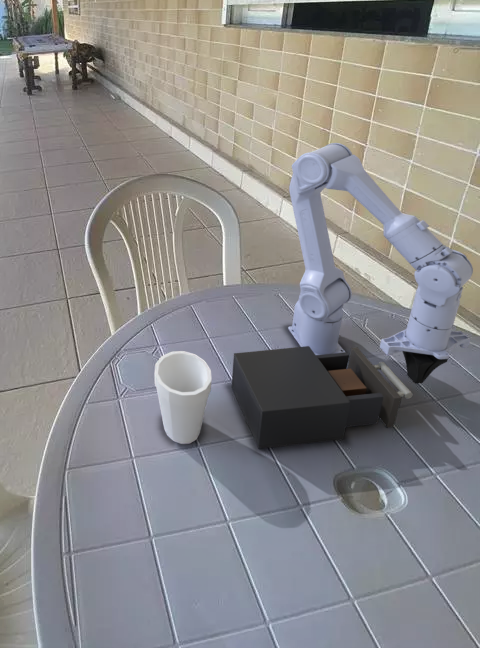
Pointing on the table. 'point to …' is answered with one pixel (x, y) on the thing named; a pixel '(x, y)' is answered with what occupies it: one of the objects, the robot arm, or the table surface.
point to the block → (348, 382)
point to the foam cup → (182, 394)
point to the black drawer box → (288, 397)
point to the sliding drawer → (369, 389)
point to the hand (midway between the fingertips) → (414, 379)
